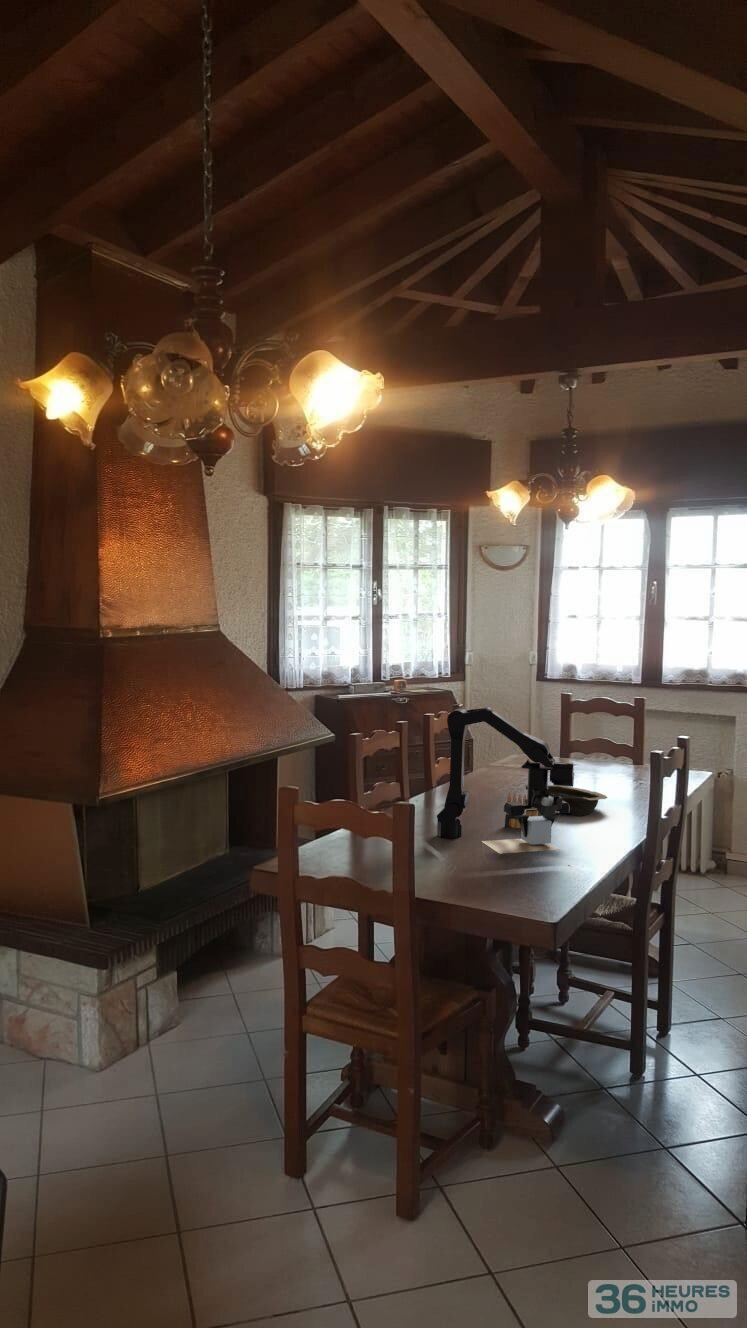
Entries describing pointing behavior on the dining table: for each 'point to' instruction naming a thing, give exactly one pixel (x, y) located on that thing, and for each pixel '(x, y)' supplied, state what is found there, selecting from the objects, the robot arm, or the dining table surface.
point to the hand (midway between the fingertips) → (535, 836)
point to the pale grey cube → (538, 830)
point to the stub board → (517, 846)
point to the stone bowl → (577, 798)
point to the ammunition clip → (512, 820)
